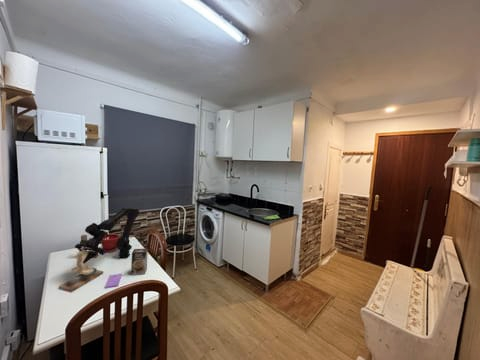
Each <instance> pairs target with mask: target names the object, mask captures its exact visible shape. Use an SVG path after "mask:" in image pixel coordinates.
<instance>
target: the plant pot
mask: <svg viewBox="0 0 480 360" xmlns="http://www.w3.org/2000/svg"><path fill="white" fill-rule="evenodd" d="M120 238H121V235H120V234H116V233H110V234H109V233H108V236H106V235H105V237H104V238H103V239H102V241H101V242H102V243H101V244H100V245H101V248H102V249H103V250H105V253H113V252H115V251H116V250H118V248H117V246H116V243H117V240H118V239H120Z"/></svg>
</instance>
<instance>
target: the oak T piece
mask: <svg viewBox="0 0 480 360" xmlns="http://www.w3.org/2000/svg"><path fill="white" fill-rule="evenodd" d="M88 251H89V250H87V251H86V250H82V251H80V252H79V251H77V252H76V266H75V267H74V268H73V267H72V269H71V272H73V273H76V274H79V275H80V274H85V275H88V274H90V273H92V272H94V269H91V268H89V260H88V261H87V262H86V263H83V261H84V260H85V258H86V256H87V255H88Z"/></svg>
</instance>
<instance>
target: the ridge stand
mask: <svg viewBox="0 0 480 360" xmlns="http://www.w3.org/2000/svg"><path fill="white" fill-rule="evenodd" d="M90 269H94V272H92V273H90V274H88V275H85V274H80V273H79V274H78V275H76V276H74V277H73V278H70V279H68V280H67V281H65V282H64V283H61V284H60V285H58V290H63V291H67V292H69V293H73V292H75V291H76V290H78V289H80V288H81V287H83V286H85V285H87V284H88V283H89V282H91V281H93V280H95V279H97V278H98V277H100V276H102V275H103V274H104V271H103V270H99V269H97V268H95V267H91V268H90Z"/></svg>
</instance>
